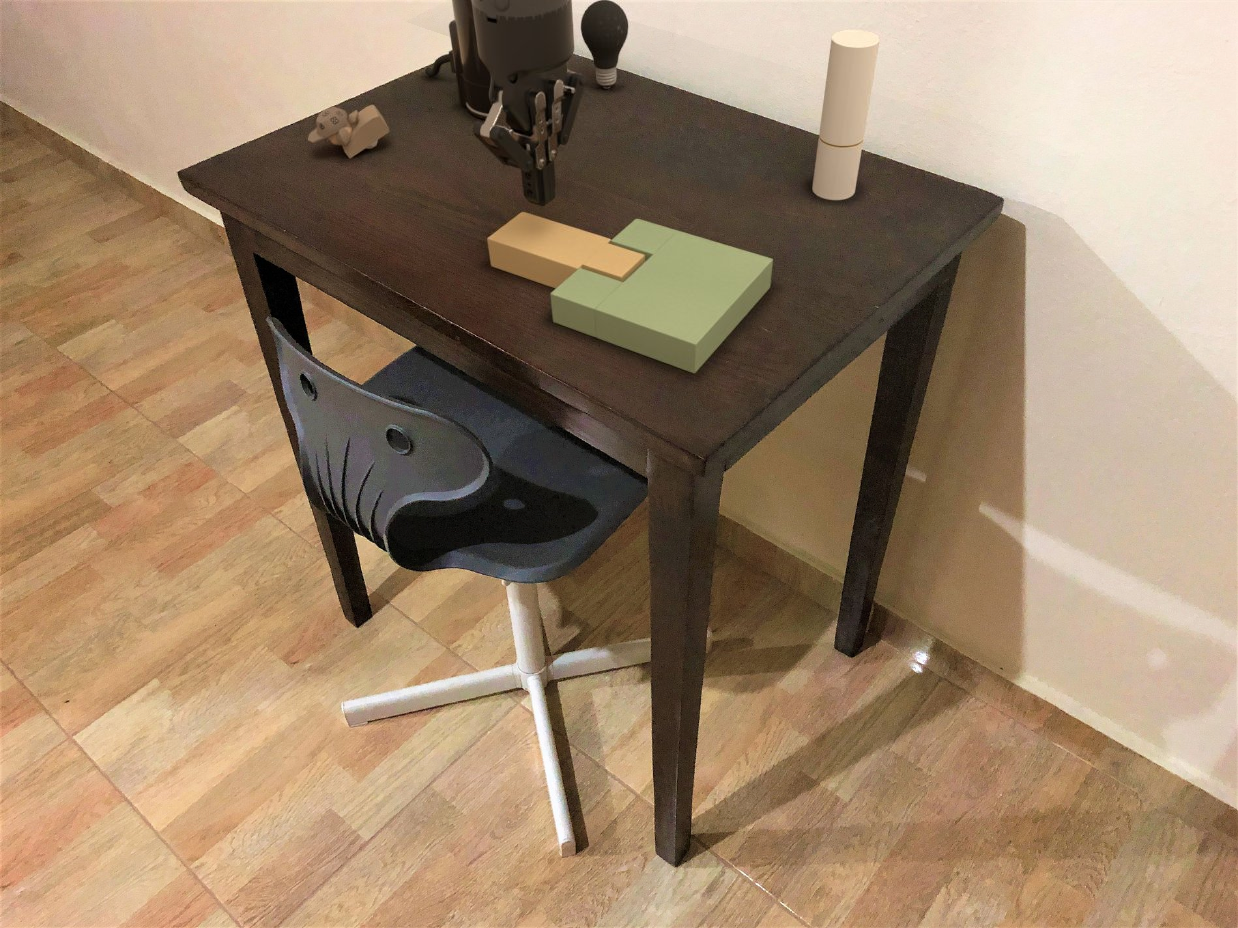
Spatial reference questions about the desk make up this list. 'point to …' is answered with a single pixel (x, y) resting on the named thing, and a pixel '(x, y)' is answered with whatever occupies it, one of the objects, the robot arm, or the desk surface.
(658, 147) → the desk surface
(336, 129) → the toy character
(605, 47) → the light bulb
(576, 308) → the base pad
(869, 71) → the tube
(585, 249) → the loose pad
